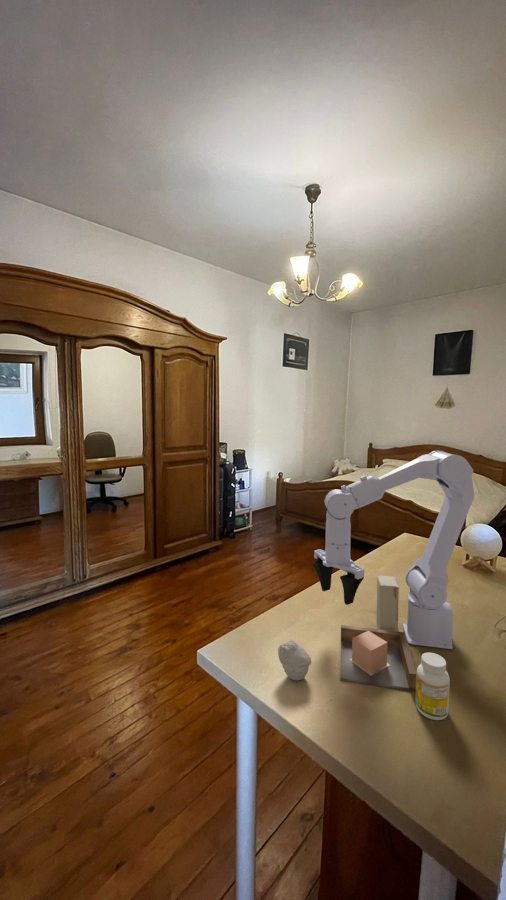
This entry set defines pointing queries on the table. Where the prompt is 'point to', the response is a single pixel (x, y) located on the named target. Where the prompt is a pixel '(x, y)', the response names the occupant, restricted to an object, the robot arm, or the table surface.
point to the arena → (391, 675)
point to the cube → (369, 651)
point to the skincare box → (387, 603)
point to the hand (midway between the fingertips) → (337, 596)
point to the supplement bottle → (432, 687)
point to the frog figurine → (294, 660)
